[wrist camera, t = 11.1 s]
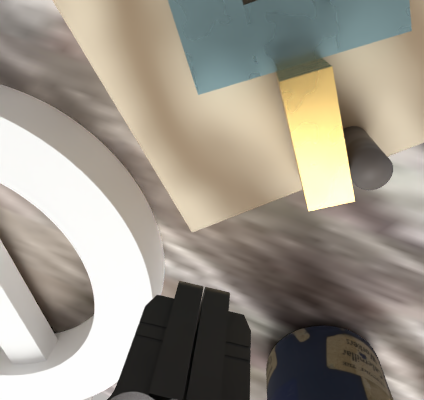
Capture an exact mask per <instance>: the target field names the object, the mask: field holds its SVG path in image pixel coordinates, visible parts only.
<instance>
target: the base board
mask: <svg viewBox="0 0 424 400" xmlns="http://www.w3.org/2000/svg"><path fill="white" fill-rule="evenodd" d="M254 1H257V0H243V4H244V5H245V4H248V3H251V2H254ZM53 2H54V4H55V5H56V7H57V9H58V10H59V12H60V14H61V15H62V17H63V19H64V20H65V22H66V24H67V25H68V27H69V29H70V30H71V32H72V34H73V35H74V37H75V39H76V40H77V42H78V44H79V45H80V47H81V49H82V50H83V52H84V54H85V55H86V57H87V59H88V60H89V62H90V64H91V65H92V67H93V69H94V70H95V72H96V74H97V75H98V77H99V78H100V80H101V82H102V83H103V85H104V87H105V88H106V90H107V92H108V93H109V95H110V97H111V98H112V100H113V102H114V103H115V105H116V107H117V108H118V110H119V112H120V113H121V115H122V117H123V118H124V120H125V122H126V123H127V125H128V127H129V128H130V130H131V132H132V133H133V135H134V137H135V138H136V140H137V142H138V143H139V145H140V147H141V148H142V150H143V152H144V153H145V155H146V157H147V158H148V160H149V162H150V163H151V165H152V167H153V168H154V170H155V172H156V173H157V175H158V177H159V178H160V180H161V182H162V183H163V185H164V187H165V188H166V190H167V192H168V193H169V195H170V197H171V198H172V200H173V202H174V203H175V205H176V207H177V208H178V210H179V212H180V213H181V215H182V217H183V218H184V220H185V222H186V223H187V225H188V227H189V228H190V230H191V232H195V231H197V230H200V229H202V228H205V227H208V226H210V225H213V224H215V223H218V222H220V221H223V220H226V219H228V218H231V217H233V216H236V215H238V214H241V213H244V212H246V211H249V210H251V209H254V208H257V207H259V206H262V205H264V204H267V203H269V202H272V201H275V200H277V199H280V198H282V197H285V196H287V195H290V194H293V193H295V192H298V191H300V190H303V189H302V185H301V181H300V177H299V173H298V168H297V164H296V160H295V155H294V151H293V146H292V142H291V138H290V133H289V129H288V125H287V120H286V116H285V112H284V107H283V103H282V99H281V94H280V90H279V85H278V81H277V77H276V72H273V73H270V74H267V75H263V76H260V77H257V78H253V79H250V80H247V81H243V82H240V83H237V84H233V85H230V86H227V87H223V88H220V89H217V90H213V91H210V92H207V93H203V94H200V95H198V93H197V90H196V87H195V84H194V81H193V77H192V74H191V71H190V68H189V65H188V62H187V59H186V56H185V53H184V49H183V46H182V43H181V40H180V37H179V34H178V31H177V28H176V24H175V21H174V18H173V15H172V12H171V9H170V6H169V3H168V0H53ZM409 2H410V14H411V27H412V31H410V32H407V33H403V34H400V35H397V36H393V37H390V38H387V39H383V40H380V41H377V42H373V43H370V44H367V45H363V46H360V47H357V48H353V49H350V50H347V51H343V52H340V53H337V54H333V55H330V56H327V57H323V59H324V60H325V61H327V62H328V63H329V64H330V65H331V66H332V67H333V73H334V79H335V85H336V91H337V97H338V103H339V109H340V115H341V121H342V127H343V133H344V139H345V145H346V151H347V157H348V163H349V169H350V175H351V179H352V181H353V183H354V184H355V185H356V186H357V187H359V188H361V189H364V190H374V189H378V188H380V187H382V186H383V185H385V184H386V183H387V182H388V181H389V180H390V178H391V176H392V173H393V165H392V162H391V161H390V159H389V158H388V156H390V155H393V154H396V153H398V152H401V151H403V150H406V149H409V148H411V147H414V146H416V145H419V144H421V143H424V0H409Z"/></svg>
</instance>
